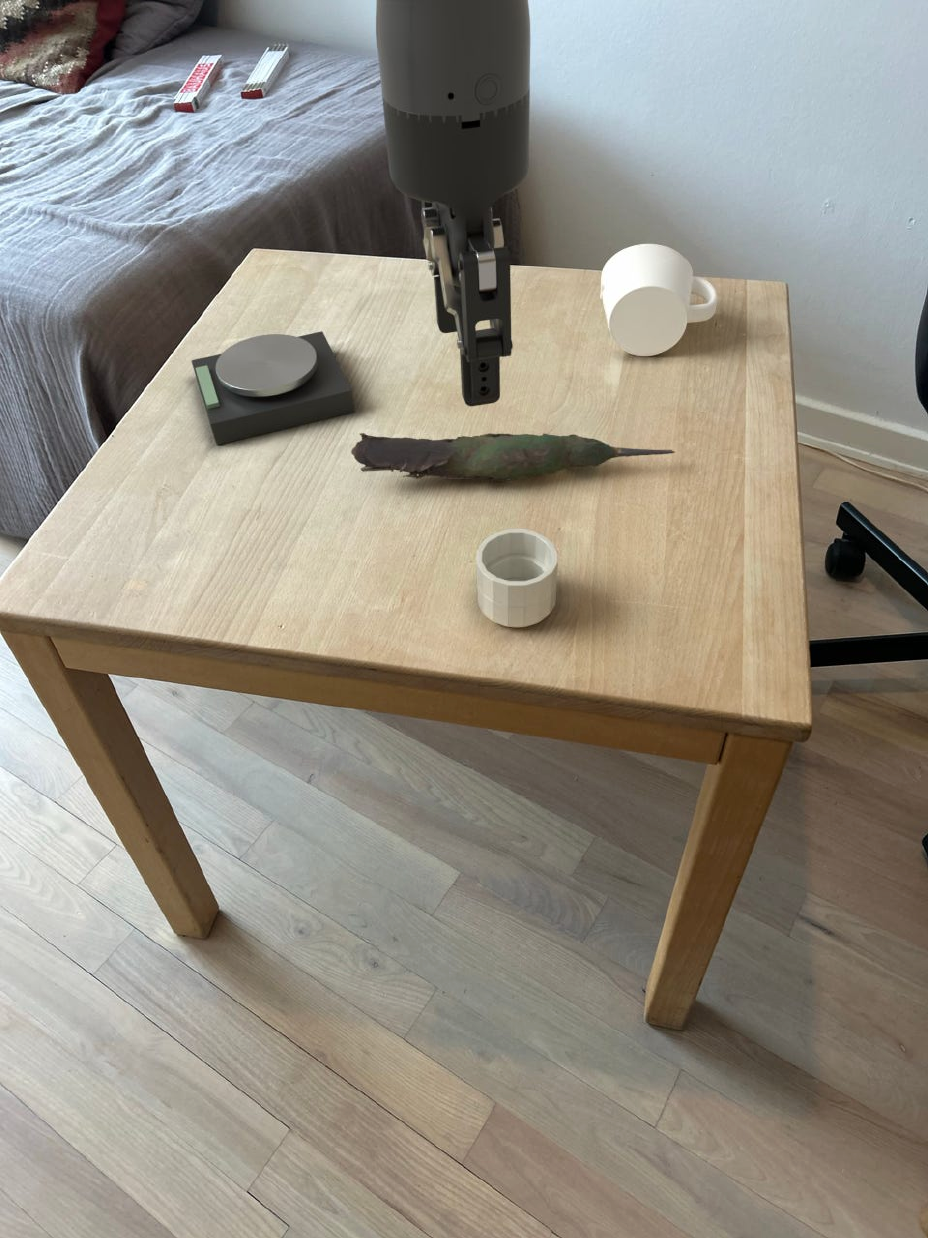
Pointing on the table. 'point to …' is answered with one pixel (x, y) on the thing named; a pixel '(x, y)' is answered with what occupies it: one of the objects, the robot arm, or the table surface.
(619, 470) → the table surface
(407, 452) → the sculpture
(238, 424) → the scale
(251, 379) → the pan
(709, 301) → the mug
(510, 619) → the white cup
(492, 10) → the robot arm
